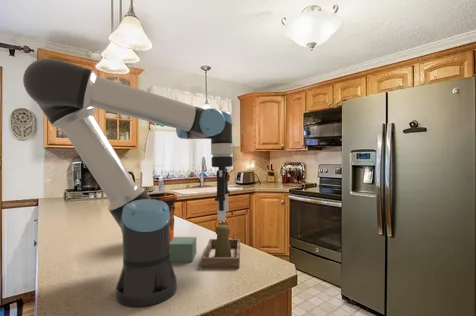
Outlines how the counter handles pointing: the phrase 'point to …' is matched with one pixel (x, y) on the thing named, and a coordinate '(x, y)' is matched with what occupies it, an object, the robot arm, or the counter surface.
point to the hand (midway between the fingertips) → (223, 215)
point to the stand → (182, 249)
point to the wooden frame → (221, 261)
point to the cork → (222, 241)
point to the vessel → (169, 200)
